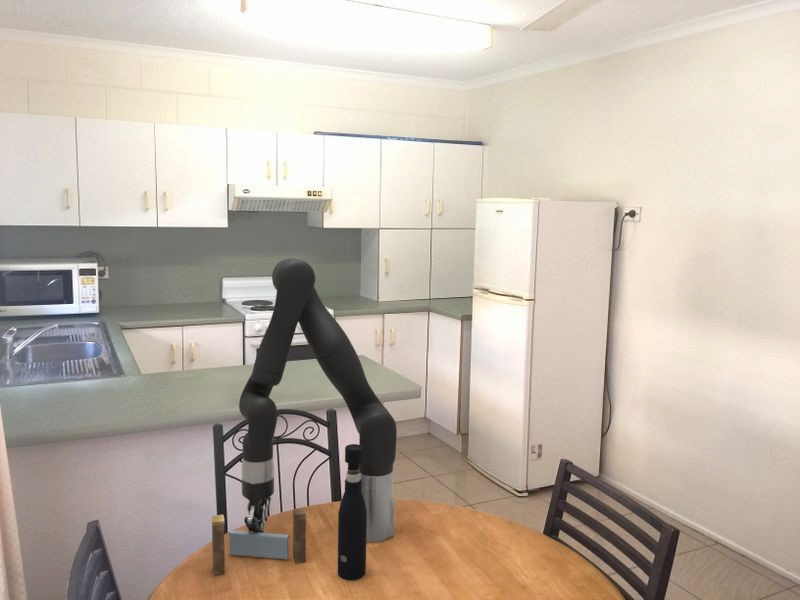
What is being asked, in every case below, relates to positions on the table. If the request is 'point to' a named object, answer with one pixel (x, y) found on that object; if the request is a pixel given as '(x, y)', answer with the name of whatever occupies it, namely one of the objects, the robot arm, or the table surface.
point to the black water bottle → (352, 520)
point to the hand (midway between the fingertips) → (258, 543)
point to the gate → (259, 544)
